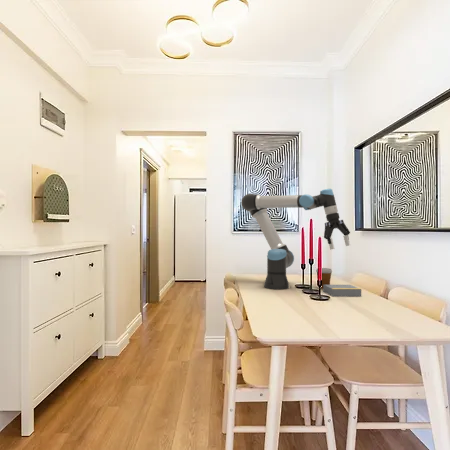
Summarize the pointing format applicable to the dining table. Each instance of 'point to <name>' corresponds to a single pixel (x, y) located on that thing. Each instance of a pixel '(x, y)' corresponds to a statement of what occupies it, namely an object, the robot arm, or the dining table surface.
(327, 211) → the robot arm
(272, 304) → the dining table surface
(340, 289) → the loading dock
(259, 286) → the dining table surface
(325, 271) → the disposable coffee cup
